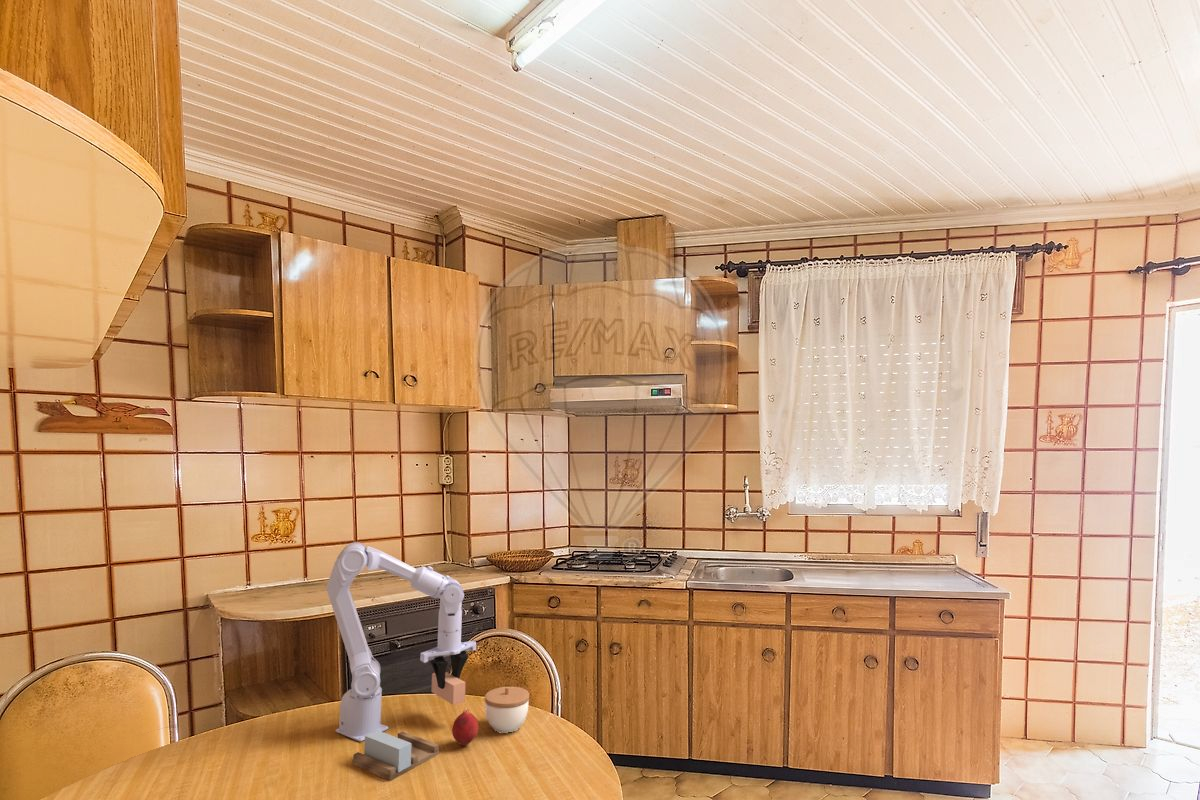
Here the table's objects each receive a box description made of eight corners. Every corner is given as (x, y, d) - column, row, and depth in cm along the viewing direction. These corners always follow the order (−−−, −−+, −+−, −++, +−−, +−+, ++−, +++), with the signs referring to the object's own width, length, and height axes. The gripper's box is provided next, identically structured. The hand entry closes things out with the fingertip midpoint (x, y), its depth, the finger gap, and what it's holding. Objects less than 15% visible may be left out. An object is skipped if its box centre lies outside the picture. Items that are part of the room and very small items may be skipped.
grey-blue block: (363, 757, 128) (364, 735, 128) (376, 751, 131) (377, 730, 131) (398, 772, 122) (399, 749, 123) (410, 765, 125) (411, 743, 125)
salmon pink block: (431, 692, 152) (432, 673, 152) (442, 688, 154) (443, 670, 154) (453, 704, 144) (453, 685, 144) (464, 701, 146) (465, 682, 146)
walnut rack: (352, 764, 127) (353, 754, 127) (402, 740, 138) (402, 731, 138) (389, 780, 121) (390, 770, 121) (438, 754, 132) (438, 744, 132)
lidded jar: (506, 714, 152) (506, 676, 153) (537, 725, 146) (538, 685, 147) (474, 730, 143) (475, 689, 144) (506, 742, 137) (507, 700, 138)
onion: (471, 753, 132) (472, 715, 133) (447, 750, 133) (448, 713, 134) (481, 741, 138) (482, 704, 139) (458, 738, 139) (459, 702, 140)
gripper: (430, 638, 143) (428, 698, 141) (483, 627, 152) (481, 682, 151) (417, 632, 148) (415, 689, 146) (468, 621, 158) (467, 675, 156)
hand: (448, 685), depth 149 cm, fingers closed on salmon pink block, 3 cm apart
